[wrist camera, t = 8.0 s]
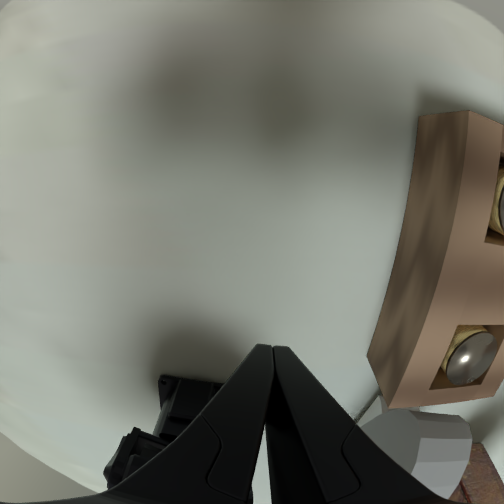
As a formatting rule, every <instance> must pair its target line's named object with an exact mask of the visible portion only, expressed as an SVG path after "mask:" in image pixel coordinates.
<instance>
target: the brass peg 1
mask: <svg viewBox="0 0 504 504" xmlns="http://www.w3.org/2000/svg"><path fill="white" fill-rule="evenodd" d="M496 351H497V341H496V339H495V337H494V336H493V335H492V334H491V333H489V332H488V331H487V330H486V329H485V328H484V327H483V326H482V325H457V328H456V330H455V333H454V335H453V338H452V340H451V342H450V345H449V347H448V349H447V352H446V354H445V356H444V359H443V361H442V363H441V365H440V366H441V368H442V369H443V371H444V372H445V374H446V376H447V378H448V380H449V381H450V382H451V383H452V384H454V385H464V384H467V383H470V382H472V381H474V380H475V379H477V378H478V377H479V376H481V375H482V374H483V373H484V372H485V371H486V370H487V368H488V367H489V366H490V364H491V363H492V361H493V359H494V357H495V354H496Z"/></svg>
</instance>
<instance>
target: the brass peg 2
mask: <svg viewBox="0 0 504 504" xmlns="http://www.w3.org/2000/svg"><path fill="white" fill-rule="evenodd" d="M488 228H491V229H493V230H495V231H497V232H499V233H501V234H503V235H504V167H501V166H499V168H498V175H497V181H496V188H495V193H494V199H493V204H492V209H491V214H490V219H489V224H488Z"/></svg>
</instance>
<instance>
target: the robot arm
mask: <svg viewBox="0 0 504 504" xmlns="http://www.w3.org/2000/svg"><path fill="white" fill-rule="evenodd" d="M163 380H164V381H163ZM165 381H166V382H165ZM158 387H159V397H160V407H161V412H160V415H159V418H158V421H157V424H156V426H155V429H154V432H153V435H152V434H149V433H146V432H143V431H141V429H139V428H136V427H134V428H133V430H132V432H131V434H129V433H128V435H127V436H123V438H122V440H121V442H120V445H119V447H118V449H117V451H116V453H115V454H114V456H113V457H112V459H111V460H110V461H109V463H108V464H107V465H106V467H105V469H104V472H103V475H104V477H105V478H106V480H107V482H108V483H107V488H108V490H106V491H104V492H102V493H98V494H96V495H90V496H84V497H78V498H70V499H62V500H53V501H43V502H29V503H5V502H0V504H253V491H252V480H253V476H254V472H255V467H256V463H257V458H258V454H259V449H260V445H261V440H262V435H263V431H264V426H265V430H266V442H267V454H268V466H269V477H270V489H271V501H272V504H476V503H465V502H456V501H452V500H448V499H446V498H443V497H441V496H439V495H437V494H436V493H434V492H433V491H431V490H430V489H428V488H427V487H426V486H425V485H423V484H422V483H421V482H420V481H418V480H417V479H416V478H415V477H413V476H412V475H411V474H410V473H409V472H407V471H406V470H405V469H404V468H402V467H401V466H400V465H399V464H398V463H396V462H395V461H394V460H393V459H392V458H391V457H389V456H388V455H387V454H386V453H385V452H384V451H383V450H382V449H381V448H379V447H378V446H377V445H376V444H375V443H374V442H373V441H372V439H371V438H370V437H369V436H368V435H367V434H366V433H365V432H364V431H363V430H362V429H361V428H360V427H359V426H358V425H357V424H356V423H355V421H354V420H353V419H352V418H351V417H350V416H349V415H348V414H347V413H346V411H345V410H344V409H343V408H342V407H341V406H340V405H339V404H338V402H337V401H336V400H335V399H334V398H333V397H332V396H331V395H330V393H329V392H328V391H327V390H326V389H325V388H324V387H323V386H322V384H321V383H320V382H319V381H318V380H317V379H316V378H315V376H314V375H313V374H312V373H311V372H310V371H309V370H308V368H307V367H306V366H305V365H304V364H303V363H302V362H301V360H300V359H299V358H298V357H297V356H296V355H295V353H294V352H293V351H292V350H291V349H290V348H289V347H287V346H273V347H272V346H271V345H265V344H256V345H255V347H254V348H253V349H252V350H251V352H250V353H249V354H248V355H247V357H246V358H245V359H244V360H243V362H242V363H241V364H240V365H239V367H238V368H237V369H236V370H235V372H234V373H233V374H232V375H231V376H230V378H229V379H228V380H227V381H226V382H225V384H219V383H212V382H205V381H198V380H191V379H185V378H179V377H173V376H167V375H161V376H160V377H159V379H158ZM355 424H356V425H355Z"/></svg>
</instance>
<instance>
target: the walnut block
mask: <svg viewBox="0 0 504 504" xmlns="http://www.w3.org/2000/svg"><path fill="white" fill-rule="evenodd" d="M499 166H501V167H504V125H502V124H500V123H498V122H496V121H493V120H491V119H489V118H486V117H484V116H482V115H479V114H477V113H475V112H472V111H470V110H467V111H457V112H448V113H439V114H431V115H423V116H419V120H418V130H417V139H416V147H415V155H414V162H413V169H412V176H411V182H410V188H409V194H408V200H407V205H406V211H405V216H404V221H403V226H402V231H401V235H400V240H399V244H398V249H397V253H396V257H395V261H394V265H393V269H392V273H391V277H390V281H389V285H388V289H387V292H386V296H385V299H384V303H383V306H382V310H381V313H380V316H379V320H378V323H377V326H376V329H375V333H374V336H373V339H372V342H371V345H370V348H369V351H368V354H367V358H368V361H369V363H370V365H371V368H372V370H373V373H374V375H375V377H376V380H377V382H378V385H379V387H380V390H381V392H382V395H383V397H384V400H385V402H386V405H387V407H388V409H390V408H406V407H418V406H429V405H438V404H447V403H455V402H462V401H469V400H475V399H481V398H487V397H492V396H494V395H495V393H496V391H497V390H498V388H499V386H500V384H501V383H502V381H503V379H504V235H503V234H501V233H499V232H497V231H495V230H493V229H491V228H488V224H489V219H490V214H491V209H492V204H493V199H494V193H495V188H496V181H497V175H498V168H499ZM457 325H482V326H483V327H484V328H485V329H486V330H487V331H488V332H489V333H491V334H492V335H493V336H494V337H495V339H496V341H497V351H496V354H495V357H494V359H493V361H492V363H491V364H490V366H489V367H488V368H487V370H486V371H485V372H484V373H483V374H482V375H481V376H479V377H478V378H477V379H475V380H474V381H472V382H470V383H467V384H464V385H454V384H452V383H451V382H450V381H449V380H448V378H447V376H446V374H445V372H444V371H443V369H442V368H441V366H440V365H441V363H442V361H443V359H444V356H445V354H446V352H447V349H448V347H449V345H450V342H451V340H452V338H453V335H454V333H455V330H456V328H457Z"/></svg>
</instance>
